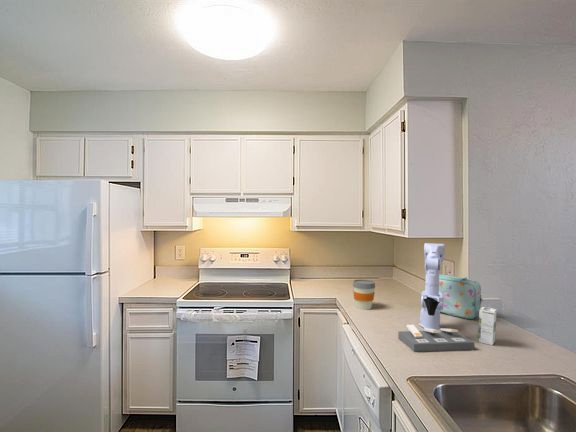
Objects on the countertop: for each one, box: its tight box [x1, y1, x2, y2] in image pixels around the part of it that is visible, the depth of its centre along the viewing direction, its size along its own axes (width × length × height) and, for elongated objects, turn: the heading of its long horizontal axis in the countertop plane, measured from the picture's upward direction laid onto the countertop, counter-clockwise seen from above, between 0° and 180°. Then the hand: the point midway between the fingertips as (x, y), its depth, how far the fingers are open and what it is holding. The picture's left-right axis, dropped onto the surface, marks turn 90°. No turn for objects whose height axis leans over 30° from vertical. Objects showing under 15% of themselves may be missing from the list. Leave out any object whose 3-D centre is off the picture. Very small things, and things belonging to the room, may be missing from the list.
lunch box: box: [439, 274, 484, 320], centre depth 184 cm, size 27×10×21 cm, turn 43°
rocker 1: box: [406, 324, 423, 338], centre depth 144 cm, size 8×3×1 cm, turn 7°
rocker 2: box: [440, 327, 459, 333], centre depth 146 cm, size 8×3×1 cm, turn 7°
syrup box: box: [477, 306, 498, 346], centre depth 145 cm, size 6×6×14 cm
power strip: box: [397, 330, 475, 353], centre depth 142 cm, size 14×26×4 cm, turn 97°
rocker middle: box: [423, 328, 441, 333], centre depth 145 cm, size 8×3×1 cm, turn 7°
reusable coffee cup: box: [352, 279, 376, 311], centre depth 194 cm, size 13×13×15 cm
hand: (431, 315), depth 151 cm, fingers closed
